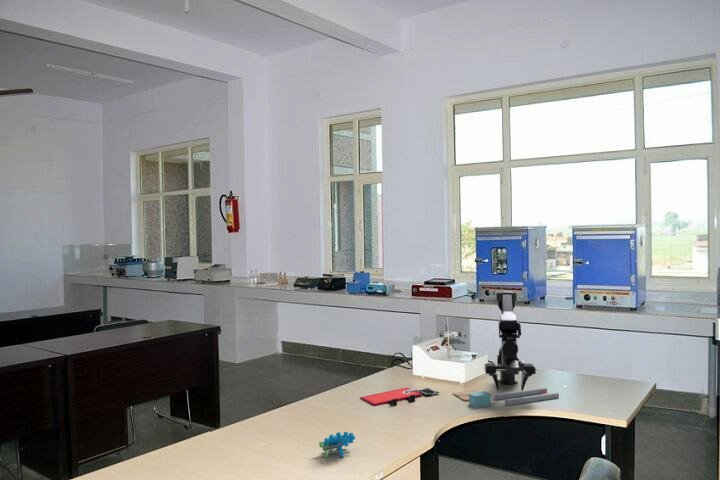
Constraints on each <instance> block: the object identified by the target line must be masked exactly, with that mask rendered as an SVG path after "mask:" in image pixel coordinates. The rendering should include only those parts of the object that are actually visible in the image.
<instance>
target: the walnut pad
mask: <svg viewBox="0 0 720 480" xmlns="http://www.w3.org/2000/svg"><path fill="white" fill-rule="evenodd" d="M475 392H478V391H476V390H475V389H474V390H472V389H471V390H465V391H457V392H452V395H453V396H455V397H456V398H458V399H460V400H462V401H464V402H469V393H475Z"/></svg>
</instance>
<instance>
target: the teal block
mask: <svg viewBox="0 0 720 480" xmlns="http://www.w3.org/2000/svg"><path fill="white" fill-rule="evenodd" d="M491 396H492V395H491V393H489V392H487V391H477V392H475V393H469V401H468V405H469V406H471V407H472V408H475V409H477V408H481V407H482V408H483V407H488V406H492V405H491V404H492V403H491V402H492V400H491V399H492V398H491Z"/></svg>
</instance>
